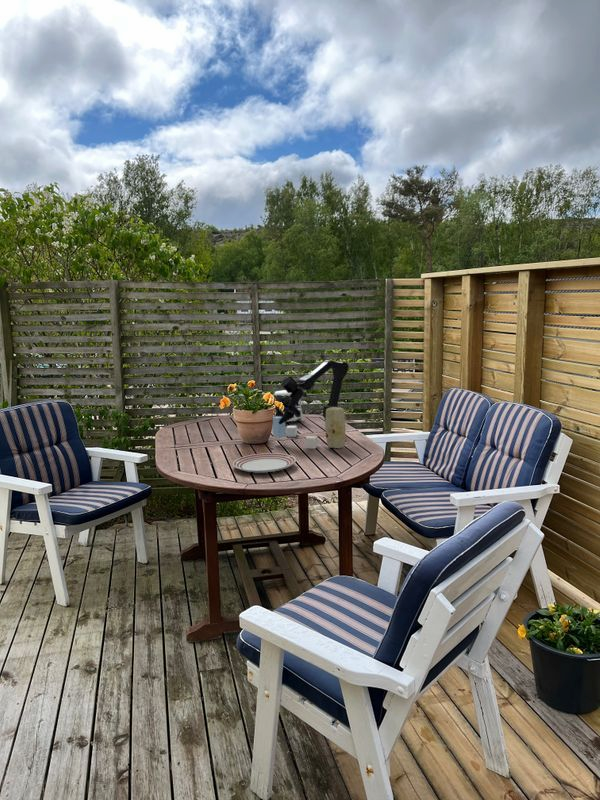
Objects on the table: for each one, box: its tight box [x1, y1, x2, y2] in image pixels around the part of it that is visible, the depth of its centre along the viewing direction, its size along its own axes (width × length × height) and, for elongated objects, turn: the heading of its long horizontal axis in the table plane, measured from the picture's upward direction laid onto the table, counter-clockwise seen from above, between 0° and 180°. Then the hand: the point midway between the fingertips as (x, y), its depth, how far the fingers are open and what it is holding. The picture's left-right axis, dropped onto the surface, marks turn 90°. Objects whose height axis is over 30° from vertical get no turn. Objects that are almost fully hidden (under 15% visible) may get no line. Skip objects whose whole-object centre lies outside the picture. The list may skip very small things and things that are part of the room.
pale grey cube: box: [285, 425, 298, 438], centre depth 315 cm, size 5×5×5 cm
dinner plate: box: [232, 452, 297, 474], centre depth 255 cm, size 28×27×3 cm
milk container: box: [273, 389, 303, 424], centre depth 351 cm, size 17×17×18 cm
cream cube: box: [305, 435, 318, 449], centre depth 288 cm, size 5×5×5 cm
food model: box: [324, 406, 346, 449], centre depth 285 cm, size 10×7×20 cm
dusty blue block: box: [272, 416, 286, 439], centre depth 295 cm, size 4×4×10 cm
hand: (276, 423), depth 293 cm, fingers closed on dusty blue block, 4 cm apart
